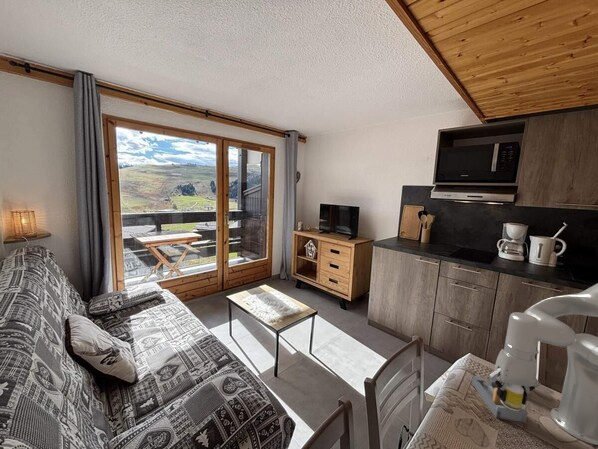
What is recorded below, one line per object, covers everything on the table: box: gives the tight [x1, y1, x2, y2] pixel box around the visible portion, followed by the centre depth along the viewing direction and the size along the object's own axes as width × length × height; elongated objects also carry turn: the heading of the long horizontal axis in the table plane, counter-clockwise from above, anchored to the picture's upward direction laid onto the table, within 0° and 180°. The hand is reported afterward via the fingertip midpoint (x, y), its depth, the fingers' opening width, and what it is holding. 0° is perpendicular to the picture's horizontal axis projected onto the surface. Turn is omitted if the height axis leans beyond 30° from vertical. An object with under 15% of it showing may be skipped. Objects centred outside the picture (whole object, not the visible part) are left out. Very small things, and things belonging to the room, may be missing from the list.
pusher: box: [488, 386, 504, 406], centre depth 91 cm, size 6×8×6 cm
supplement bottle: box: [500, 384, 524, 411], centre depth 84 cm, size 5×5×10 cm
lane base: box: [471, 375, 528, 424], centre depth 91 cm, size 9×16×4 cm, turn 171°
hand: (510, 399), depth 84 cm, fingers closed on supplement bottle, 5 cm apart
